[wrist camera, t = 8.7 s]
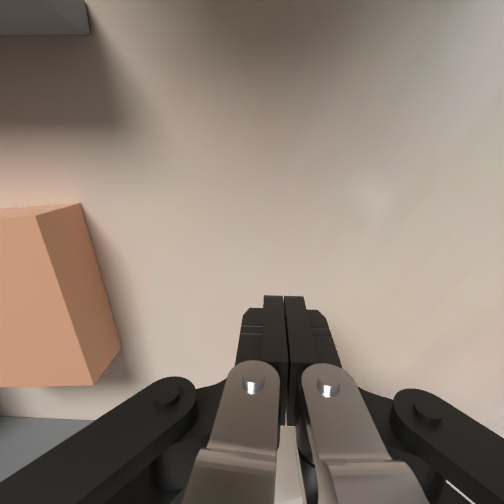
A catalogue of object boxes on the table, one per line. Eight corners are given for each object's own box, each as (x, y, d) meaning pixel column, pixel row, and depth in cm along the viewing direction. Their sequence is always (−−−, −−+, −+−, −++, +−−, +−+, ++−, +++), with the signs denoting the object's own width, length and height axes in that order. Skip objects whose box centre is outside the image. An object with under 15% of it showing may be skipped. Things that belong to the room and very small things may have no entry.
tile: (85, 201, 13) (34, 215, 10) (124, 343, 16) (93, 385, 13) (-34, 209, 13) (-114, 225, 11) (24, 346, 16) (-27, 388, 13)
